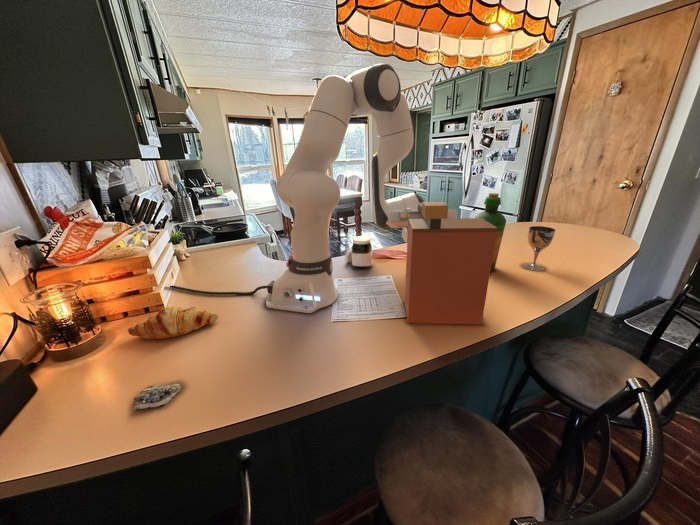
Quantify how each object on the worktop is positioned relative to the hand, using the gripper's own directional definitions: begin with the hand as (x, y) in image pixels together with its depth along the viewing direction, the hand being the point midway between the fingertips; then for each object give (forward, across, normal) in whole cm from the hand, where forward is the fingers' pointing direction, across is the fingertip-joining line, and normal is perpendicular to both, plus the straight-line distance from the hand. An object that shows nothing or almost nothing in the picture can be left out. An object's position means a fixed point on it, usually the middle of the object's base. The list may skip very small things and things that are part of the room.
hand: (425, 210), depth 77 cm
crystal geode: (+22, -56, +44) cm, 75 cm away
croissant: (+4, -67, +34) cm, 75 cm away
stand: (-6, +4, +28) cm, 29 cm away
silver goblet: (-35, +46, +12) cm, 59 cm away
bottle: (-34, +27, +12) cm, 45 cm away
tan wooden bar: (+3, 0, +3) cm, 4 cm away
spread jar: (-37, -21, +10) cm, 44 cm away
